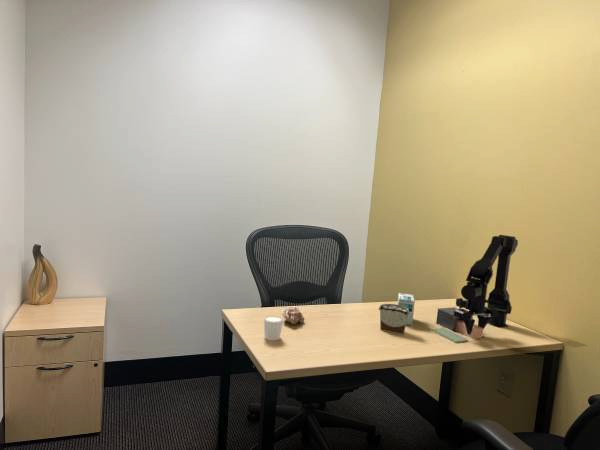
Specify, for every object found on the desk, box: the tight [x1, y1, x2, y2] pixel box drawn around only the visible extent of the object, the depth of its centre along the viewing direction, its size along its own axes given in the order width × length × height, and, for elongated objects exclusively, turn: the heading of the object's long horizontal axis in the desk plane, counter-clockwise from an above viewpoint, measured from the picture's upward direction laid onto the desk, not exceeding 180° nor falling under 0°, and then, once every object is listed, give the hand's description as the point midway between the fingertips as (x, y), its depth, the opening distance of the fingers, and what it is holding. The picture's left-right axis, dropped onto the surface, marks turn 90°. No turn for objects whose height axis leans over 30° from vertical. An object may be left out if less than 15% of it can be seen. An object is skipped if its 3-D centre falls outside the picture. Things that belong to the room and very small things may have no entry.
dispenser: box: [435, 307, 458, 332], centre depth 198 cm, size 9×10×6 cm
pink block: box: [455, 318, 484, 339], centre depth 191 cm, size 5×13×4 cm, turn 20°
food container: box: [378, 303, 410, 336], centre depth 187 cm, size 12×6×10 cm, turn 65°
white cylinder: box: [263, 315, 284, 341], centre depth 169 cm, size 7×7×7 cm
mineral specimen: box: [282, 307, 305, 325], centre depth 188 cm, size 12×8×7 cm
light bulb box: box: [397, 292, 416, 326], centre depth 200 cm, size 11×7×11 cm, turn 168°
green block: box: [431, 327, 469, 344], centre depth 186 cm, size 6×14×1 cm, turn 24°
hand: (473, 333), depth 187 cm, fingers closed on pink block, 5 cm apart
